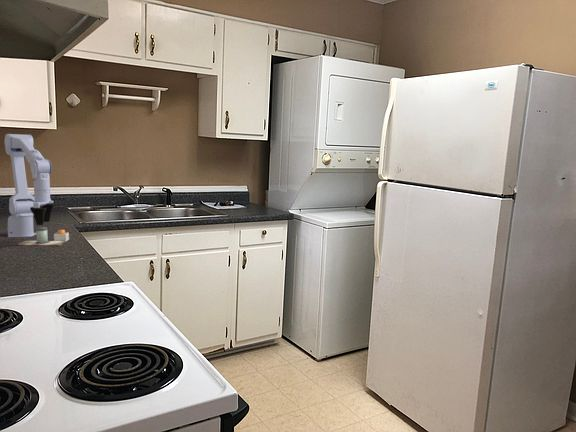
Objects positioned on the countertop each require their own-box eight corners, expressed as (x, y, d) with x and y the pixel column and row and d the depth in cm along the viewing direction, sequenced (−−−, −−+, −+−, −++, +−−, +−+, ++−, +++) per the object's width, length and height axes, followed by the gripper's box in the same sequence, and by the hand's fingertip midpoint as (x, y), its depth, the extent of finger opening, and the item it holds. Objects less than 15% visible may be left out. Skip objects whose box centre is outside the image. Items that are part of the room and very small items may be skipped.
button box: (54, 241, 201) (53, 234, 201) (57, 239, 206) (57, 232, 206) (65, 241, 202) (65, 234, 202) (68, 239, 207) (68, 232, 206)
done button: (56, 237, 202) (56, 230, 202) (59, 236, 205) (58, 229, 205) (64, 237, 203) (63, 230, 202) (66, 236, 205) (65, 229, 205)
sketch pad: (17, 245, 192) (17, 244, 191) (25, 241, 199) (24, 240, 199) (60, 245, 194) (60, 244, 194) (66, 241, 202) (65, 240, 202)
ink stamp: (35, 243, 194) (34, 228, 193) (38, 241, 198) (38, 226, 197) (45, 243, 195) (45, 228, 194) (49, 241, 199) (48, 227, 198)
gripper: (46, 192, 188) (47, 226, 190) (58, 188, 202) (59, 220, 204) (27, 191, 187) (28, 226, 189) (40, 188, 201) (41, 220, 203)
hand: (43, 223), depth 196 cm, fingers open, 7 cm apart
